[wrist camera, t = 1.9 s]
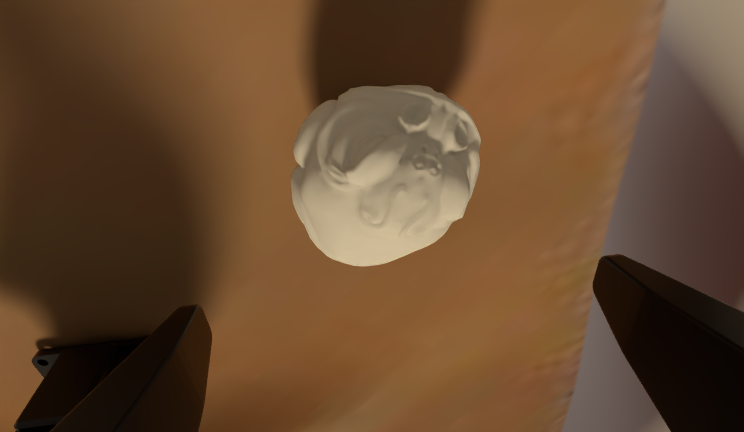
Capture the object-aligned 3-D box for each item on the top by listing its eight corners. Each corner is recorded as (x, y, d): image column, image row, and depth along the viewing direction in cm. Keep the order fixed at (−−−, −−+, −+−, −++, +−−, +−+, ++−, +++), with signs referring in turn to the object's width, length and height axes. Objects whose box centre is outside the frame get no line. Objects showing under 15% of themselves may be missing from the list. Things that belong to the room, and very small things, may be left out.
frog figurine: (479, 86, 17) (562, 164, 11) (396, 223, 20) (426, 341, 14) (337, 14, 15) (344, 60, 9) (270, 177, 18) (244, 291, 12)
